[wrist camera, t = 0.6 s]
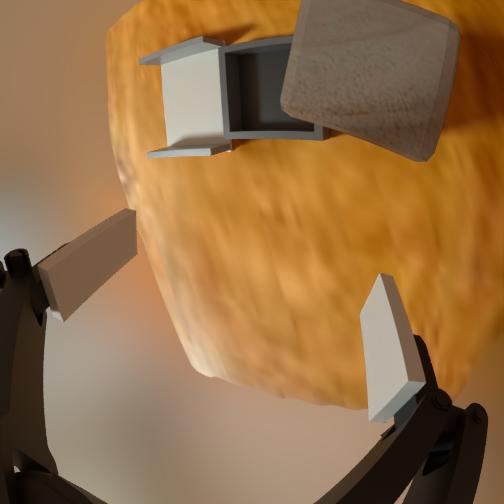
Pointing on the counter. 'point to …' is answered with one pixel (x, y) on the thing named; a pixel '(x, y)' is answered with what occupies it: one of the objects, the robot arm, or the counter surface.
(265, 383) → the counter surface
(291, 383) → the counter surface
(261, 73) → the box
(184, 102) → the walled bay
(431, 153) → the wooden block
